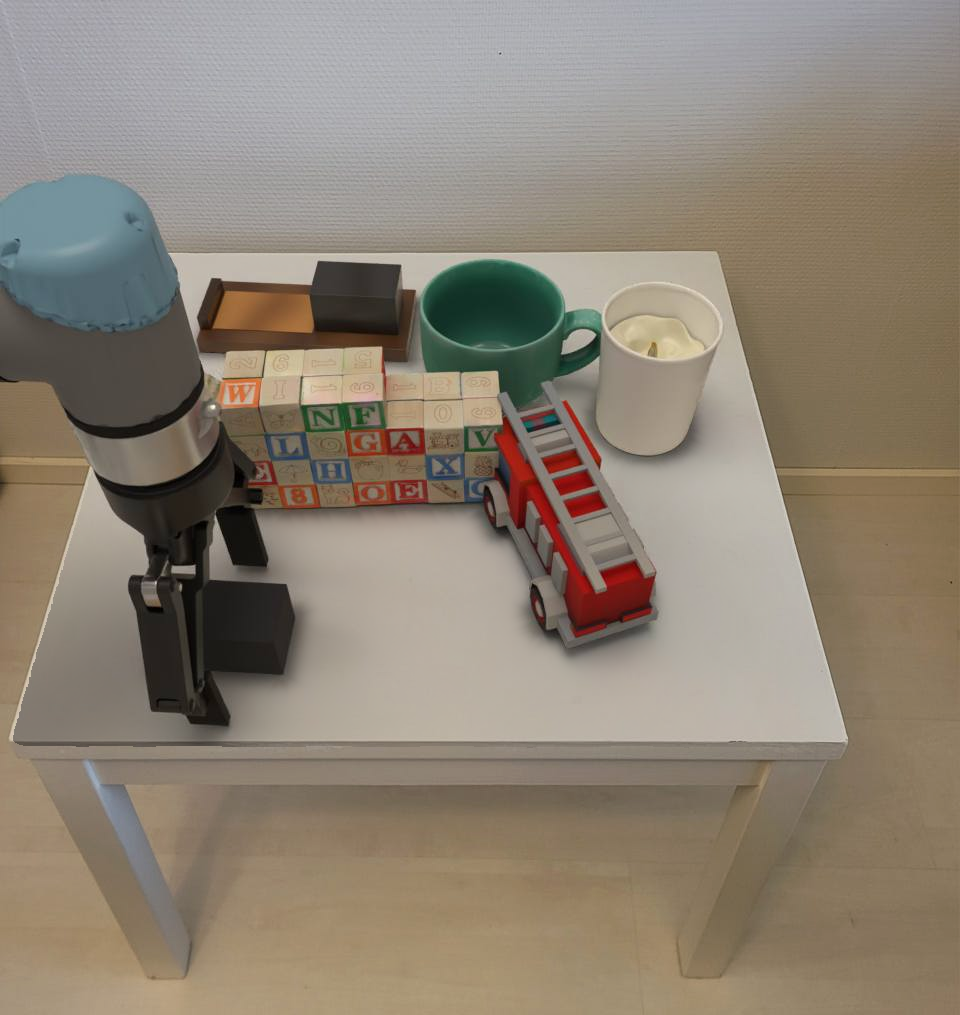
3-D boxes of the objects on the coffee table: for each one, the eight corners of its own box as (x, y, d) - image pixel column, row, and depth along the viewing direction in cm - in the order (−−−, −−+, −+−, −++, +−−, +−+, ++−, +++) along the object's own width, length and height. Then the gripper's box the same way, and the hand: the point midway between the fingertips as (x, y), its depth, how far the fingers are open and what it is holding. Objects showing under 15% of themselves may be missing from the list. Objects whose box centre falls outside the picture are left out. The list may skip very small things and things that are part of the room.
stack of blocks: (497, 447, 85) (500, 341, 75) (501, 502, 81) (505, 398, 71) (253, 454, 84) (224, 348, 74) (245, 510, 80) (214, 406, 70)
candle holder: (647, 370, 91) (668, 266, 82) (719, 433, 86) (749, 330, 77) (565, 411, 88) (577, 308, 78) (635, 479, 83) (656, 377, 73)
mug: (408, 420, 87) (403, 340, 79) (438, 330, 95) (436, 249, 87) (591, 446, 85) (603, 367, 78) (606, 352, 93) (618, 272, 85)
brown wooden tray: (199, 352, 92) (185, 302, 88) (220, 292, 98) (208, 242, 93) (407, 362, 92) (403, 312, 87) (416, 301, 97) (414, 251, 93)
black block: (161, 667, 71) (145, 635, 67) (179, 610, 74) (164, 576, 70) (283, 674, 71) (273, 643, 67) (295, 616, 74) (286, 583, 70)
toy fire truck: (566, 457, 84) (575, 373, 76) (665, 630, 73) (688, 553, 65) (470, 484, 82) (470, 401, 74) (557, 666, 71) (567, 591, 63)
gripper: (163, 633, 47) (246, 801, 64) (264, 304, 63) (310, 508, 79) (13, 625, 47) (134, 795, 64) (151, 300, 63) (220, 504, 80)
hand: (232, 637), depth 72 cm, fingers open, 13 cm apart
